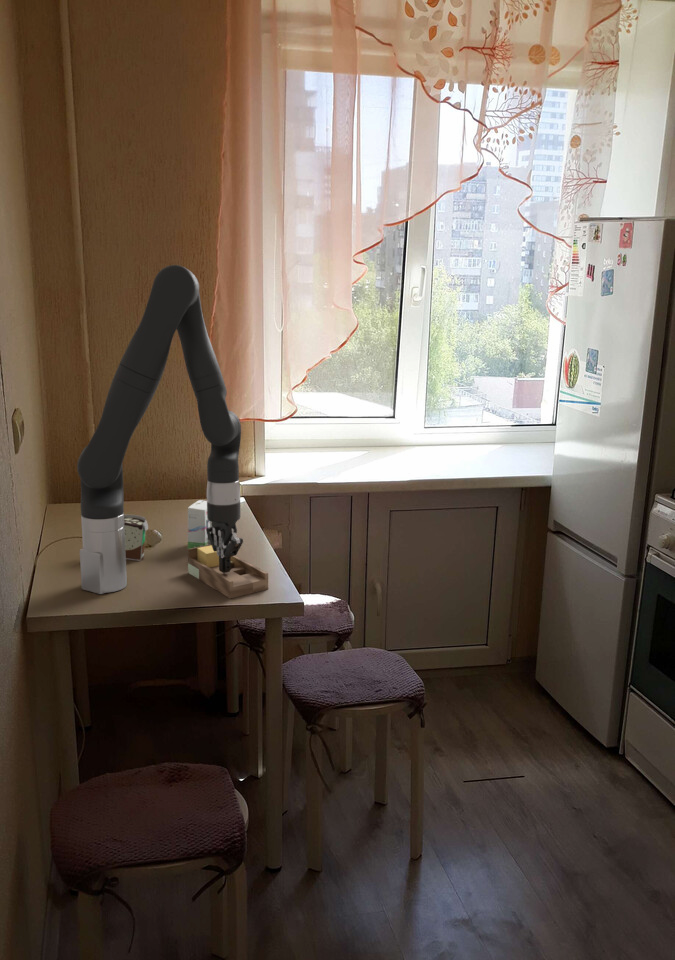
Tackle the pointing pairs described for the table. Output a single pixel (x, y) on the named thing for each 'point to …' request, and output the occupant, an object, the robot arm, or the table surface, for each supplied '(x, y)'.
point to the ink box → (197, 524)
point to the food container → (135, 536)
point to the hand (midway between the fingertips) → (224, 571)
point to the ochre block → (207, 556)
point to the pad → (193, 570)
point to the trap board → (231, 576)
